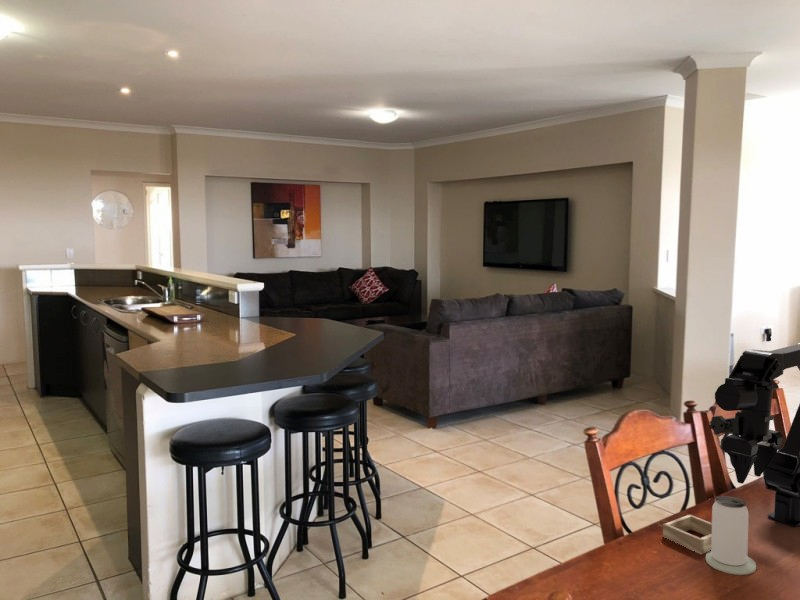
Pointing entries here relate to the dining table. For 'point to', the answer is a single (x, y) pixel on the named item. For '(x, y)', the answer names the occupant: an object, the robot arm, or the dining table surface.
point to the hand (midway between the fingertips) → (749, 479)
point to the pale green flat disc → (737, 570)
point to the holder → (694, 543)
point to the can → (729, 531)
